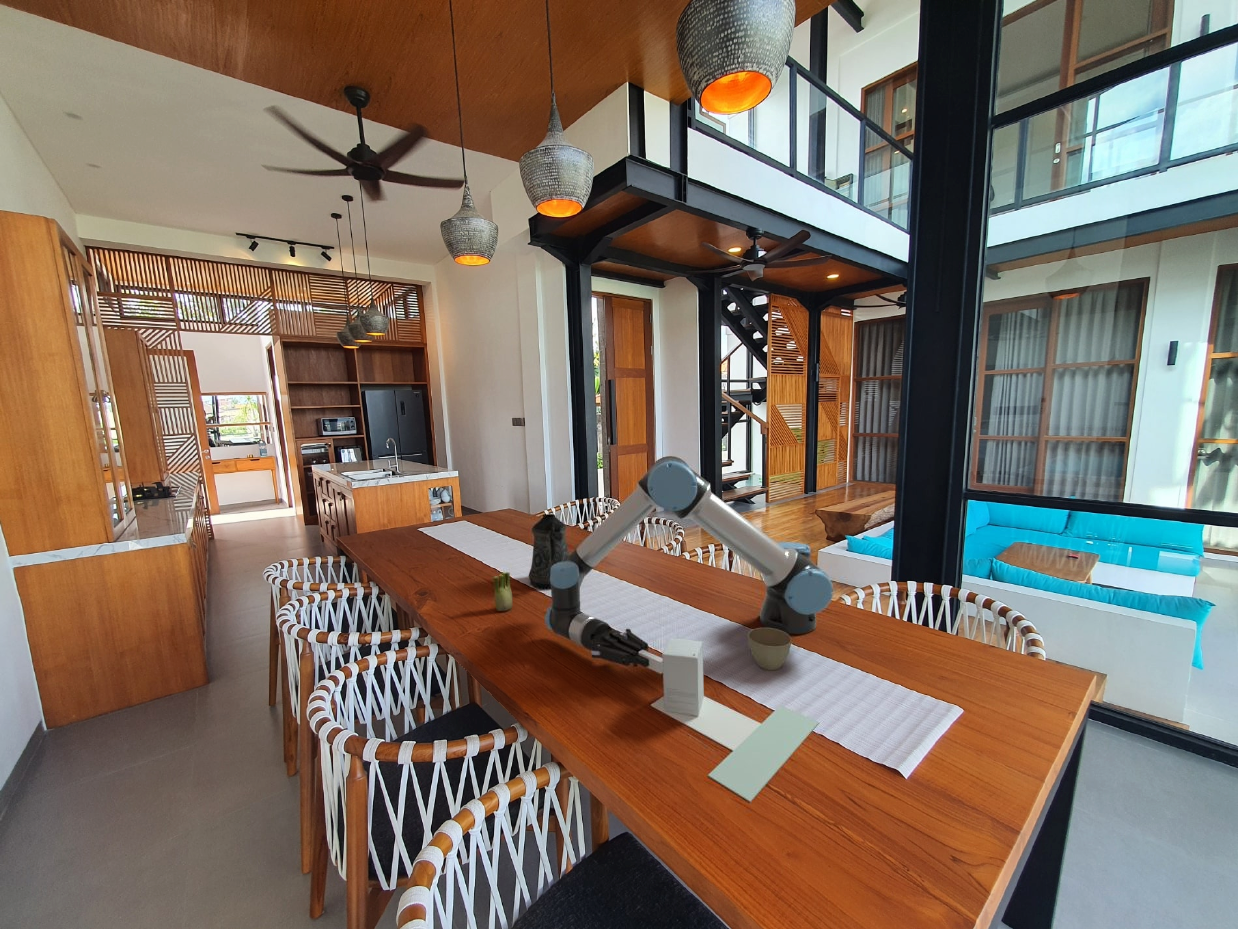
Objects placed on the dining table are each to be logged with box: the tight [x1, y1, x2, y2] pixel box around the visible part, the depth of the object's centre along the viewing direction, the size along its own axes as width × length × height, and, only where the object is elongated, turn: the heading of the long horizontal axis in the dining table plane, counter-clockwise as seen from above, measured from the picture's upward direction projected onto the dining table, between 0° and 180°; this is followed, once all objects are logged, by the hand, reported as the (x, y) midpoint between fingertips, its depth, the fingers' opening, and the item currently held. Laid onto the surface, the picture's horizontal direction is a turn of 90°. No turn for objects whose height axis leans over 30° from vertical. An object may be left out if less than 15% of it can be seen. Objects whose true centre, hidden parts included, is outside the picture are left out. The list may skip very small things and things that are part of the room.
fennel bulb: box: [493, 571, 513, 612], centre depth 152 cm, size 6×5×12 cm
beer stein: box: [528, 513, 570, 590], centre depth 174 cm, size 16×19×25 cm
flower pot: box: [747, 627, 793, 671], centre depth 115 cm, size 10×10×7 cm
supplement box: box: [661, 637, 705, 716], centre depth 101 cm, size 7×7×13 cm
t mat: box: [650, 695, 820, 803], centre depth 95 cm, size 28×26×1 cm
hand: (662, 666), depth 104 cm, fingers closed
